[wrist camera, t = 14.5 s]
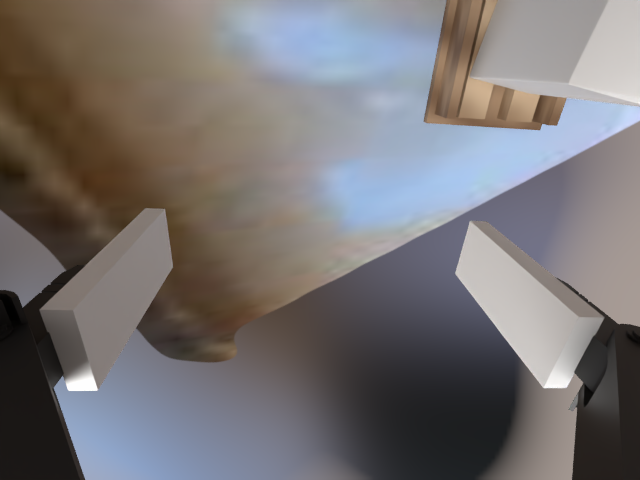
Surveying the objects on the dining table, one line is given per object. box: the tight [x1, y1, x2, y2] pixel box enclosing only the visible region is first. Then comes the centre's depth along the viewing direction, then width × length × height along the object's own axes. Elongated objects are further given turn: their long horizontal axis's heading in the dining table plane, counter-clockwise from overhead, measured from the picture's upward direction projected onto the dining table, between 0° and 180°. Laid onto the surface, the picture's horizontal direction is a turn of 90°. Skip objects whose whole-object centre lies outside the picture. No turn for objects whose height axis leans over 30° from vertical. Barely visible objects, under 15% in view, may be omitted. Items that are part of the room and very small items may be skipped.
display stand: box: [424, 0, 567, 130], centre depth 36 cm, size 16×14×4 cm
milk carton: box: [470, 0, 640, 107], centre depth 27 cm, size 7×7×19 cm
